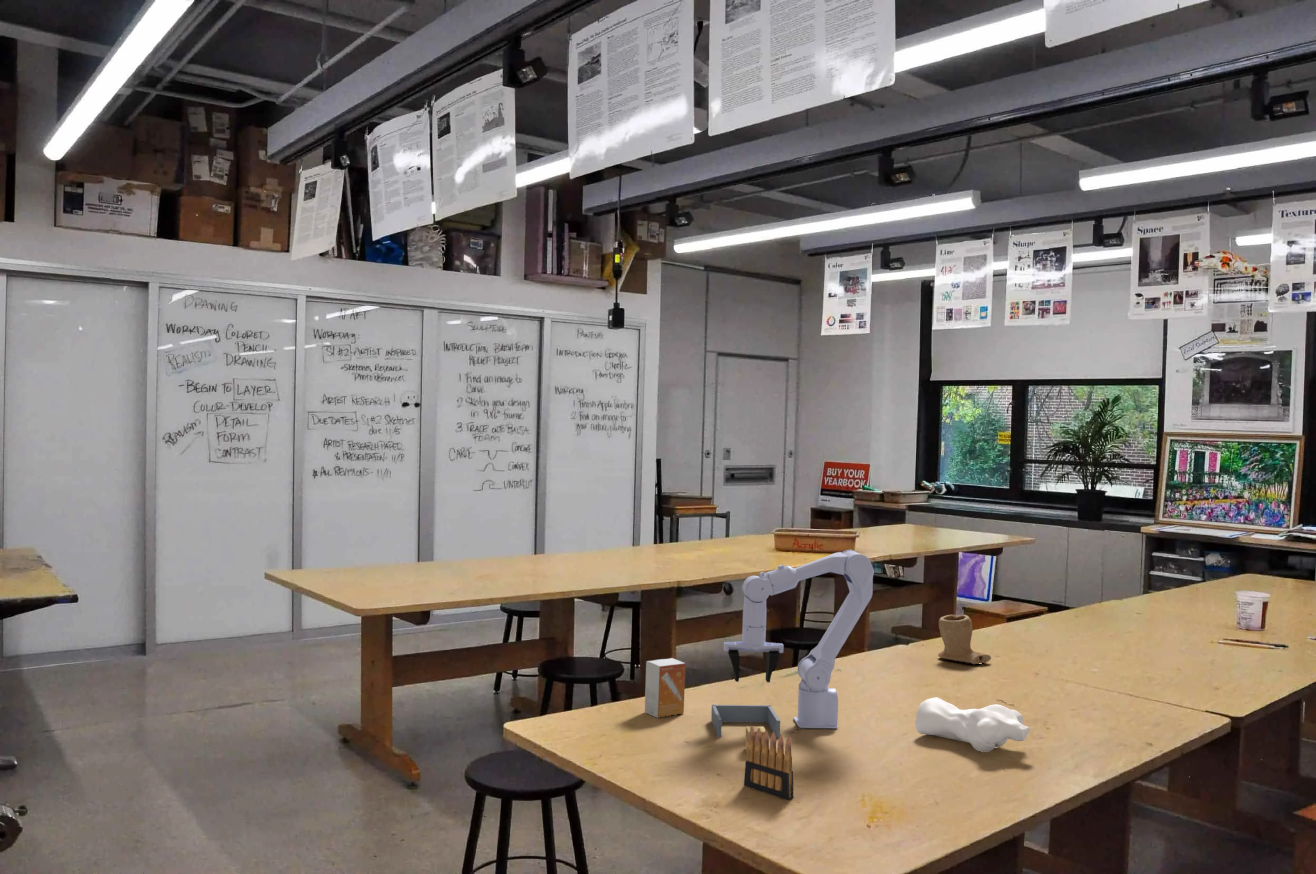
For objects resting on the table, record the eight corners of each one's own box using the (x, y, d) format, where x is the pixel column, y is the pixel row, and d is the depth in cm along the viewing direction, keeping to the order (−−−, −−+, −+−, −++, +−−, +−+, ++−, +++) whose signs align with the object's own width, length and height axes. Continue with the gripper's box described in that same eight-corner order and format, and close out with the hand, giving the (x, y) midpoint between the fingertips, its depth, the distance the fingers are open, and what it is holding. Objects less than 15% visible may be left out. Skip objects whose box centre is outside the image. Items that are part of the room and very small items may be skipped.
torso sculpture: (907, 746, 224) (1009, 765, 206) (905, 704, 225) (1006, 719, 207) (947, 732, 237) (1046, 748, 219) (945, 691, 237) (1044, 704, 219)
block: (763, 748, 216) (763, 726, 216) (766, 754, 212) (766, 732, 212) (745, 748, 215) (746, 726, 215) (748, 754, 211) (748, 731, 211)
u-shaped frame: (770, 721, 236) (770, 705, 236) (779, 737, 224) (780, 720, 224) (711, 721, 235) (711, 704, 235) (717, 737, 223) (718, 720, 223)
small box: (657, 718, 236) (659, 666, 236) (643, 712, 241) (645, 660, 241) (684, 714, 241) (686, 662, 241) (670, 708, 246) (671, 657, 246)
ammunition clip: (743, 785, 192) (745, 726, 192) (749, 783, 193) (750, 724, 193) (788, 800, 185) (790, 738, 185) (793, 797, 186) (795, 736, 186)
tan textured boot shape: (929, 660, 310) (931, 613, 310) (949, 655, 318) (950, 610, 318) (972, 669, 298) (974, 621, 298) (991, 663, 306) (993, 617, 306)
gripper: (727, 628, 230) (725, 684, 230) (786, 629, 231) (784, 685, 231) (723, 622, 237) (721, 677, 237) (781, 623, 238) (779, 678, 238)
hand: (752, 681), depth 234 cm, fingers open, 7 cm apart
